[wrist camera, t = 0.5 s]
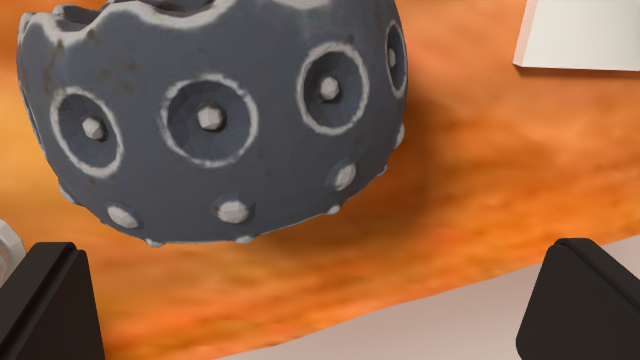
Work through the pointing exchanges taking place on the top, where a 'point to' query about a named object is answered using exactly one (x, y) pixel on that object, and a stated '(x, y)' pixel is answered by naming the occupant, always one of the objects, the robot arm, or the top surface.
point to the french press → (9, 251)
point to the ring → (214, 110)
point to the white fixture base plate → (580, 35)
